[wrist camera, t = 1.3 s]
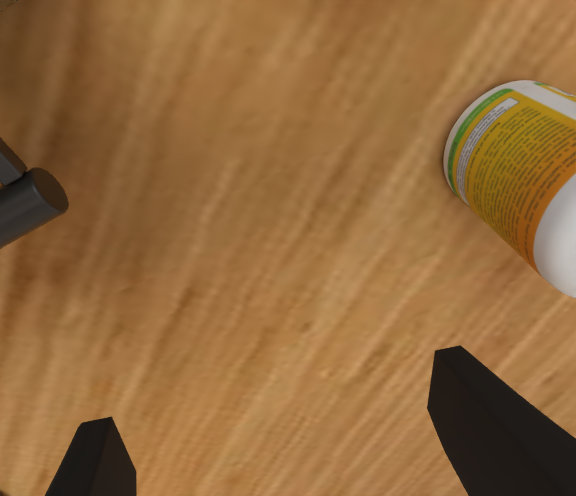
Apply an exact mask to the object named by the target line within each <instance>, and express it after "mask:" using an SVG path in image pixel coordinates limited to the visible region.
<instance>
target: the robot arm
mask: <svg viewBox="0 0 576 496" xmlns="http://www.w3.org/2000/svg"><path fill="white" fill-rule="evenodd" d="M427 409H428V412H429V414H430V417H431V419H432V422H433V424H434V427H435V429H436V432H437V434H438V437H439V439H440V441H441V444H442V446H443V448H444V451H445V453H446V455H447V456H448V458H449V460H450V462H451V464H452V466H453V468H454V470H455V471H456V473H457V475H458V477H459V479H460V481H461V482H462V484H463V486H464V488H465V490H466V492H467V493H468V495H469V496H576V438H574V437H573V436H572V435H570V434H569V433H568V432H566V431H565V430H564V429H562V428H561V427H560V426H558V425H557V424H556V423H554V422H553V421H552V420H551V419H549V418H548V417H547V416H545V415H544V414H543V413H542V412H540V411H539V410H538V409H537V408H535V407H534V406H533V405H531V404H530V403H529V402H528V401H526V400H525V399H524V398H523V397H522V396H520V395H519V394H518V393H517V392H515V391H514V390H513V389H512V388H511V387H509V386H508V385H507V384H506V383H505V382H503V381H502V380H501V379H500V378H499V377H497V376H496V375H495V374H494V373H493V372H491V371H490V370H489V369H488V368H487V367H486V366H484V365H483V364H482V363H481V362H480V361H478V360H477V359H476V358H475V357H474V356H473V355H471V354H470V353H469V352H468V351H467V350H465V349H464V348H463V347H462V346H455V347H450V348H446V349H441V350H436V351H435V355H434V362H433V369H432V377H431V384H430V391H429V398H428V406H427ZM0 496H1V495H0ZM45 496H136V470H135V468H134V466H133V463H132V461H131V459H130V457H129V454H128V452H127V450H126V448H125V445H124V443H123V441H122V439H121V436H120V434H119V432H118V430H117V427H116V425H115V423H114V421H113V418H112V417H108V418H103V419H98V420H93V421H88V422H83V423H81V425H80V426H79V427H78V429H77V431H76V433H75V435H74V437H73V439H72V442H71V444H70V446H69V448H68V450H67V452H66V454H65V456H64V458H63V460H62V462H61V464H60V466H59V469H58V471H57V473H56V475H55V477H54V479H53V480H52V482H51V484H50V486H49V488H48V490H47V492H46V494H45Z"/></svg>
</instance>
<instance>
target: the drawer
mask: <svg viewBox="0 0 576 496" xmlns="http://www.w3.org/2000/svg"><path fill="white" fill-rule="evenodd" d="M16 1H17V0H0V11H1V10H3V9H4V8H6V7H8V6H9V5H11V4H13V3H14V2H16ZM27 169H28V168H27V166H26V165H25V164H24V163H23V162H22V160H21V159H20V158H19V157H18V156H17V155H16V154H15V153H14V152H13V151H12V150H11V149H10V147H9V146H8V145H7V144H6V143H5V142H4V141H3V140H2V139H1V138H0V182H1V183H2V184H3V185H2V186H0V249H1V248H2V247H4V246H6V245H8V244H10V243H11V242H13V241H15V240H17V239H19V238H20V237H22V236H24V235H26V234H28V233H29V232H31V231H33V230H35V229H37V228H38V227H40V226H42V225H44V224H46V223H47V222H49V221H51V220H53V219H55V218H56V217H58V216H60V215H62V214H64V213H65V212H66V211H67V209H68V207H69V203H68V198H67V196H66V193H65V191H64V189H63V188H62V186H61V185H60V183H59V182H58V181H57V180H56V179H55V177H54V176H52V175H51V174H50V173H49V172H48V171H46V170H44V169H42V168H32V169H30V170H28V171H27V172H26V170H27Z"/></svg>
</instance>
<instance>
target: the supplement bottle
mask: <svg viewBox="0 0 576 496" xmlns="http://www.w3.org/2000/svg"><path fill="white" fill-rule="evenodd" d="M443 166H444V173H445V176H446V179H447V182H448V184H449V186H450V188H451V189H452V190H453V192H454V193H455V194H456V195H457V196H458V197H459V198H460V199H461V200H462V201H463V202H464V203H465V204H466V205H467V206H468V207H469V208H470V209H471V210H472V211H474V212H475V213H476V214H477V215H478V216H479V217H480V218H481V219H482V220H483V221H484V222H485V223H486V224H488V225H489V226H490V227H491V228H492V229H493V230H494V231H495V232H496V233H497V234H498V235H499V236H500V237H501V238H502V239H503V240H504V241H505V242H506V243H507V244H508V245H509V246H511V247H512V248H513V249H514V250H515V251H516V252H517V253H518V254H519V255H520V256H521V257H522V258H523V259H524V260H525V261H526V262H527V263H528V264H529V265H530V266H531V267H532V268H533V269H534V270H535V271H536V272H537V273H538V274H539V275H541V276H542V277H543V278H544V279H545V280H546V281H548V282H549V283H550V284H551V285H552V286H553V287H555V288H556V289H557V290H559V291H560V292H562V293H564V294H566V295H568V296H571V297H574V298H576V96H574V95H572V94H569V93H567V92H564V91H562V90H560V89H558V88H555V87H552V86H550V85H547V84H544V83H540V82H537V81H530V80H520V81H513V82H509V83H505V84H503V85H500V86H498V87H495V88H493V89H491V90H489V91H488V92H486V93H485V94H483V95H482V96H480V97H479V98H478V99H476V100H475V101H474V102H473V103H472V104H471V105H470V106H469V107H468V108H467V109H466V110H465V111H464V112H463V113H462V115H461V116H460V117H459V119H458V120H457V121H456V123H455V125H454V126H453V128H452V130H451V132H450V134H449V137H448V139H447V143H446V146H445V151H444V159H443Z"/></svg>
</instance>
